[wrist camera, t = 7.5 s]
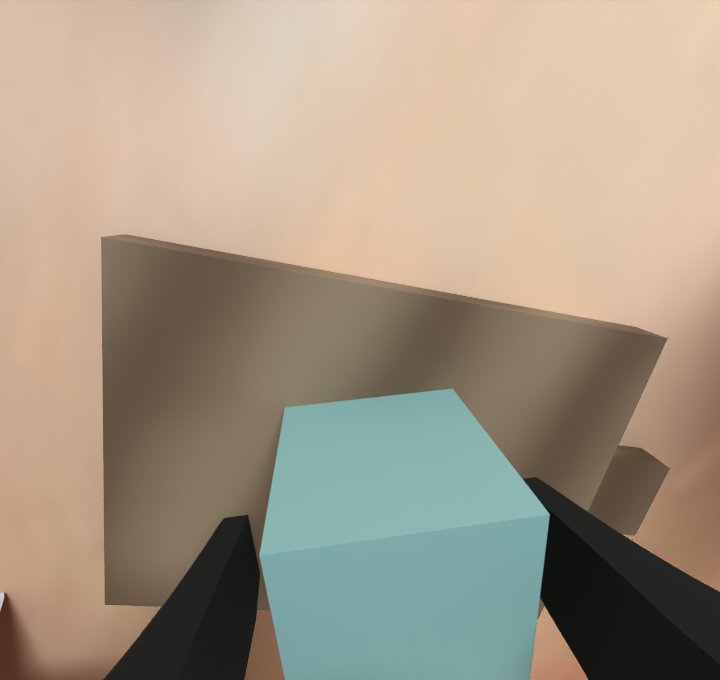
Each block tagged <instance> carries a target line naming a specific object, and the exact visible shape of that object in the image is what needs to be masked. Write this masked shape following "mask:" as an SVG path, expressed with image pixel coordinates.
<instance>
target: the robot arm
mask: <svg viewBox="0 0 720 680" xmlns="http://www.w3.org/2000/svg"><path fill="white" fill-rule="evenodd" d="M523 480H524V482H525V483H526V484H527V485H528V487H529V488H530V489H531V491H532V492H533V493H534V495H535V496H536V497H537V498H538V500H539V501H540V502H541V504H542V505H543V506H544V507H545V509H546V510H547V511H548V513H549V514H550V517H549V525H548V534H547V542H546V550H545V558H544V567H543V575H542V583H541V591H540V599H541V600H542V602H543V604H544V605H545V607H546V609H547V610H548V612H549V614H550V616H551V617H552V619H553V621H554V622H555V624H556V626H557V627H558V629H559V631H560V632H561V634H562V636H563V637H564V639H565V641H566V642H567V644H568V646H569V647H570V649H571V651H572V652H573V654H574V656H575V657H576V659H577V661H578V662H579V664H580V666H581V667H582V669H583V671H584V672H585V674H586V676H587V678H588V680H720V592H719V591H717V590H715V589H713V588H711V587H710V586H708V585H706V584H704V583H702V582H700V581H699V580H697V579H695V578H693V577H691V576H690V575H688V574H686V573H684V572H683V571H681V570H679V569H677V568H676V567H674V566H672V565H671V564H669V563H667V562H666V561H664V560H662V559H661V558H659V557H657V556H656V555H654V554H652V553H651V552H649V551H647V550H646V549H644V548H642V547H641V546H639V545H638V544H636V543H635V542H633V541H631V540H630V539H628V538H627V537H625V536H624V535H622V534H620V533H619V532H617V531H616V530H614V529H613V528H611V527H610V526H608V525H607V524H605V523H604V522H602V521H601V520H599V519H598V518H596V517H595V516H593V515H592V514H590V513H589V512H587V511H586V510H584V509H583V508H581V507H580V506H579V505H577V504H576V503H574V502H573V501H571V500H570V499H568V498H567V497H565V496H564V495H563V494H561V493H560V492H558V491H557V490H555V489H554V488H552V487H551V486H549V485H548V484H546V483H545V482H543V481H542V480H540V479H539V478H537V477H532V478H524V479H523ZM259 582H260V570H259V565H258V560H257V556H256V551H255V546H254V541H253V536H252V531H251V527H250V522H249V517H248V515H242V516H235V517H227V518H224V519H223V520H222V521H221V522H220V524H219V525H218V527H217V528H216V530H215V531H214V533H213V534H212V536H211V537H210V539H209V540H208V542H207V543H206V545H205V546H204V548H203V549H202V551H201V552H200V554H199V555H198V557H197V558H196V560H195V561H194V562H193V564H192V565H191V567H190V568H189V570H188V571H187V573H186V574H185V575H184V577H183V578H182V580H181V581H180V582H179V584H178V585H177V587H176V588H175V589H174V591H173V592H172V594H171V595H170V596H169V598H168V599H167V600H166V602H165V603H164V605H163V606H162V607H161V609H160V610H159V611H158V612H157V614H156V615H155V616H154V618H153V619H152V620H151V621H150V623H149V624H148V625H147V627H146V628H145V629H144V630H143V632H142V633H141V634H140V636H139V637H138V638H137V640H136V641H135V642H134V643H133V645H132V646H131V647H130V648H129V650H128V651H127V652H126V653H125V654H124V656H123V657H122V658H121V659H120V661H119V662H118V663H117V664H116V665H115V667H114V668H113V669H112V670H111V671H110V672H109V674H108V675H107V676H106V677H105V678H104V679H103V680H244V678H245V673H246V668H247V662H248V657H249V652H250V647H251V642H252V637H253V632H254V626H255V621H256V613H257V603H258V593H259Z"/></svg>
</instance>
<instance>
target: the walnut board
mask: <svg viewBox="0 0 720 680" xmlns="http://www.w3.org/2000/svg"><path fill="white" fill-rule="evenodd" d="M101 250H102V354H103V458H104V561H105V605H133V606H163V605H164V603H165V602H166V600H167V599H168V598H169V596H170V595H171V594H172V592H173V591H174V589H175V588H176V587H177V585H178V584H179V582H180V581H181V580H182V578H183V577H184V575H185V574H186V573H187V571H188V570H189V568H190V567H191V565H192V564H193V562H194V561H195V560H196V558H197V557H198V555H199V554H200V552H201V551H202V549H203V548H204V546H205V545H206V543H207V542H208V540H209V539H210V537H211V536H212V534H213V533H214V531H215V530H216V528H217V527H218V525H219V524H220V522H221V521H222V520H223V519H224V518H227V517H235V516H242V515H248V517H249V522H250V527H251V531H252V536H253V541H254V546H255V551H256V556H257V560H258V565H259V570H260V582H259V593H258V603H257V610H270V605H269V600H268V595H267V591H266V586H265V581H264V576H263V571H262V566H261V561H260V557H259V555H260V549H261V543H262V537H263V531H264V526H265V520H266V514H267V508H268V502H269V497H270V491H271V485H272V479H273V473H274V467H275V462H276V456H277V450H278V444H279V438H280V432H281V427H282V421H283V415H284V409H285V407H293V406H302V405H311V404H320V403H329V402H338V401H347V400H355V399H364V398H373V397H382V396H391V395H400V394H409V393H418V392H427V391H436V390H445V389H453V390H454V391H455V392H456V394H457V395H458V396H459V398H460V399H461V400H462V402H463V403H464V404H465V405H466V407H467V408H468V409H469V411H470V412H471V413H472V414H473V416H474V417H475V418H476V420H477V421H478V422H479V423H480V425H481V426H482V427H483V429H484V430H485V431H486V433H487V434H488V435H489V436H490V438H491V439H492V440H493V442H494V443H495V444H496V445H497V447H498V448H499V449H500V451H501V452H502V453H503V454H504V456H505V457H506V458H507V460H508V461H509V462H510V464H511V465H512V466H513V467H514V469H515V470H516V471H517V473H518V474H519V475H520V476H521V478H522V479H524V478H532V477H537V478H539V479H540V480H542V481H543V482H545V483H546V484H548V485H549V486H551V487H552V488H554V489H555V490H557V491H558V492H560V493H561V494H563V495H564V496H565V497H567V498H568V499H570V500H571V501H573V502H574V503H576V504H577V505H579V506H580V507H581V508H583V509H584V510H586V511H587V512H589V513H590V514H592V515H593V516H595V517H596V518H598V519H599V520H601V521H602V522H604V523H605V524H607V525H608V526H610V527H611V528H613V529H614V530H616V531H617V532H619V533H620V534H626V535H635V534H636V532H637V531H638V529H639V527H640V525H641V523H642V521H643V519H644V517H645V515H646V513H647V511H648V509H649V507H650V506H651V504H652V502H653V500H654V498H655V496H656V494H657V492H658V490H659V488H660V486H661V484H662V482H663V480H664V479H665V477H666V475H667V473H668V471H669V469H670V468H668V467H667V466H666V465H664V464H663V463H661V462H660V461H659V460H657V459H656V458H654V457H653V456H652V455H650V454H649V453H648V452H646V451H645V450H643V449H642V448H634V447H626V446H618V445H619V443H620V440H621V438H622V436H623V434H624V432H625V430H626V427H627V425H628V423H629V421H630V419H631V417H632V414H633V412H634V410H635V408H636V406H637V404H638V401H639V399H640V397H641V395H642V393H643V391H644V388H645V386H646V384H647V382H648V380H649V378H650V375H651V373H652V371H653V369H654V367H655V365H656V362H657V360H658V358H659V356H660V354H661V352H662V349H663V347H664V345H665V343H666V341H667V339H668V338H665V337H662V336H659V335H656V334H654V333H651V332H648V331H645V330H642V329H639V328H637V327H631V326H626V325H620V324H615V323H609V322H604V321H598V320H593V319H587V318H582V317H576V316H571V315H565V314H560V313H554V312H549V311H543V310H538V309H532V308H527V307H521V306H516V305H510V304H505V303H499V302H494V301H488V300H483V299H477V298H472V297H466V296H461V295H455V294H450V293H444V292H439V291H433V290H428V289H422V288H417V287H411V286H406V285H400V284H395V283H389V282H384V281H378V280H373V279H367V278H362V277H356V276H351V275H345V274H340V273H334V272H329V271H323V270H318V269H312V268H307V267H301V266H296V265H290V264H285V263H279V262H274V261H268V260H263V259H257V258H252V257H246V256H241V255H235V254H230V253H224V252H219V251H213V250H208V249H202V248H197V247H191V246H186V245H180V244H175V243H169V242H164V241H158V240H153V239H147V238H142V237H136V236H131V235H117V236H108V237H101ZM543 607H544V604H543V602H542V600H541V599H540V600H539V608H538V616H537V619H538V618H539V616H540V614H541V612H542V609H543Z"/></svg>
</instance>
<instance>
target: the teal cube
mask: <svg viewBox="0 0 720 680" xmlns="http://www.w3.org/2000/svg"><path fill="white" fill-rule="evenodd" d="M549 517H550V514H549V513H548V511H547V510H546V509H545V507H544V506H543V505H542V504H541V502H540V501H539V500H538V498H537V497H536V496H535V495H534V493H533V492H532V491H531V489H530V488H529V487H528V485H527V484H526V483H525V482H524V480H523V479H522V478H521V476H520V475H519V474H518V473H517V471H516V470H515V469H514V467H513V466H512V465H511V464H510V462H509V461H508V460H507V458H506V457H505V456H504V454H503V453H502V452H501V451H500V449H499V448H498V447H497V445H496V444H495V443H494V442H493V440H492V439H491V438H490V436H489V435H488V434H487V433H486V431H485V430H484V429H483V427H482V426H481V425H480V423H479V422H478V421H477V420H476V418H475V417H474V416H473V414H472V413H471V412H470V411H469V409H468V408H467V407H466V405H465V404H464V403H463V402H462V400H461V399H460V398H459V396H458V395H457V394H456V392H455V391H454V390H453V389H445V390H436V391H427V392H418V393H409V394H400V395H391V396H382V397H373V398H364V399H355V400H347V401H338V402H329V403H320V404H311V405H302V406H293V407H285V409H284V415H283V421H282V427H281V432H280V438H279V444H278V450H277V456H276V462H275V467H274V473H273V479H272V485H271V491H270V497H269V502H268V508H267V514H266V520H265V526H264V531H263V537H262V543H261V549H260V555H259V557H260V561H261V566H262V571H263V576H264V581H265V586H266V591H267V595H268V600H269V605H270V610H271V615H272V620H273V625H274V629H275V634H276V639H277V644H278V649H279V654H280V659H281V663H282V668H283V673H284V678H285V680H530V674H531V666H532V657H533V649H534V641H535V633H536V624H537V616H538V608H539V600H540V591H541V583H542V575H543V567H544V558H545V550H546V542H547V534H548V525H549Z"/></svg>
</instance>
